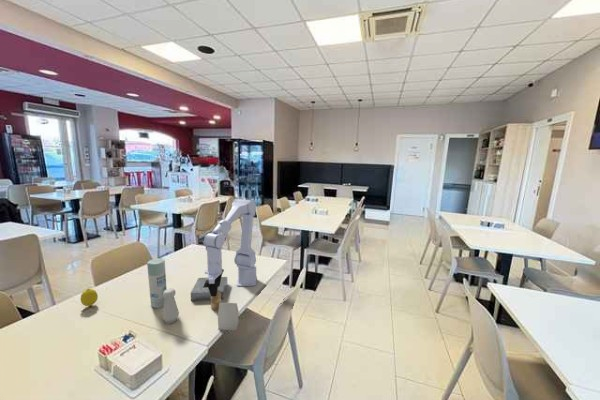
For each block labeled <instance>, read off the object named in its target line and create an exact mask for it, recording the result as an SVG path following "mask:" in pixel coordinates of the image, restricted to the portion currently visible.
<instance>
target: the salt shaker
mask: <svg viewBox="0 0 600 400" xmlns="http://www.w3.org/2000/svg"><path fill="white" fill-rule="evenodd" d="M166 289H167V290H165V291H164V292H163V297H164V298H165V301H164V306H163V310H162V320H163V321H164V322H165V323H166V324H173V323H175V322H176V321H177V320H178V318H179V315H180V311H179V308H178V305H177V302H176V299H175V296H176V290H175V289H174V288H166Z"/></svg>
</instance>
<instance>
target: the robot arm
mask: <svg viewBox="0 0 600 400" xmlns="http://www.w3.org/2000/svg"><path fill="white" fill-rule="evenodd" d="M256 206H257V205H256V203H255V201H254V200H253V199H243V198H242V199H240V198H235V199H234V200H233V202H231V209H230V210H229V212H228V213H227V215H226V216H225V218H224V219H221V220H220V221H219V222H218V224H216V226H215V227H214V229H212V231H211V232H209V233H206V235H205V236H204V239H203V241H202V243H203V245H204V246H205V251H206V258H207V262H206V263H207V269H206V270H205V271H204V274H205V275H207V278H209V280H206V282H205V284H206V285H207V287H208V289H209V291H210V295H211V296H216V295H217V290H218V287H219V286H220V282H221V277H223V273H224V271H225V270H224V269H223V261H222V260H223V259H222V258H223V257H222V256H223V255H222V254H223V253H222V252H223V251H222V247H223V246H224V244H225V240H226V236H227V235H228V233H230V231H231V229H232V224H233V222H234V221H235V220H236V219H237V218H238V217H239V216H241V217H242V223H241V224H242V226H241V235H240V236H241V238H240V248H239V249H237V250H236V252H235V255H234V264H235V265H236V268H237V271H238V272H237V273H238V274H237V276H238V278H237V283H236V286H237V287H247V286H248V287H251V286H253V287H254V286H257V280H258V276H257V265H256V263H257V257H256V251H255V250H254V249H253V248H252V239H253V227H254V225H253V224H254V217H255V216H256V209H257V208H256Z"/></svg>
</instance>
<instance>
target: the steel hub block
mask: <svg viewBox="0 0 600 400" xmlns="http://www.w3.org/2000/svg"><path fill="white" fill-rule="evenodd" d="M206 280H209V277H198V278H197V280H196V281H195V284H194V286H193V288H192V289H191V292H190V301H191V302H199V301H202V302H203V301H211V295H210V291H209V289H208V287H207V285H206V284H205V282H206ZM227 288H228V276H222V277H221V282H220V286H219V287H218V291H220V292H221V301H222V300H224V298H225V295H226V291H227Z"/></svg>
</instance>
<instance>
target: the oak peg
mask: <svg viewBox="0 0 600 400" xmlns="http://www.w3.org/2000/svg"><path fill="white" fill-rule="evenodd" d="M220 302H222V300H221V292H220V291H218V290H217V295H216V296H211V300H210V309H211V310H212V311H218V310H219V303H220Z"/></svg>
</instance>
